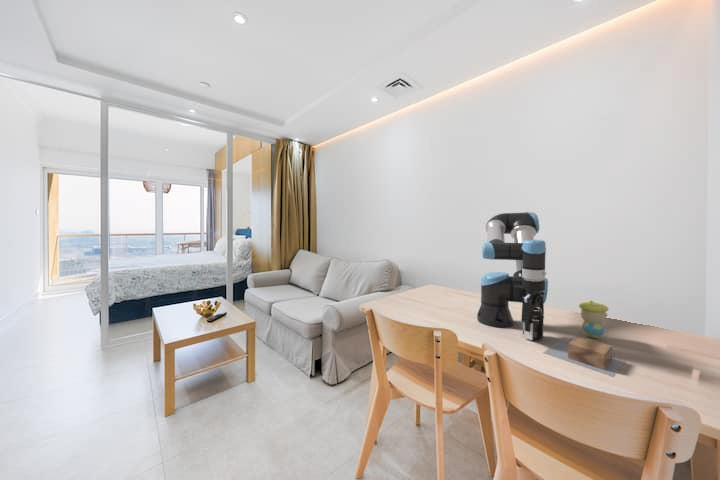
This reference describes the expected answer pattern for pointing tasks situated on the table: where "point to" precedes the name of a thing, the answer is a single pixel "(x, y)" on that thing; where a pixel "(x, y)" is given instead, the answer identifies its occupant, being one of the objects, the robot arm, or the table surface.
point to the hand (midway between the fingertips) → (532, 335)
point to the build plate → (561, 352)
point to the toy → (593, 318)
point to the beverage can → (537, 323)
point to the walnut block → (590, 352)
